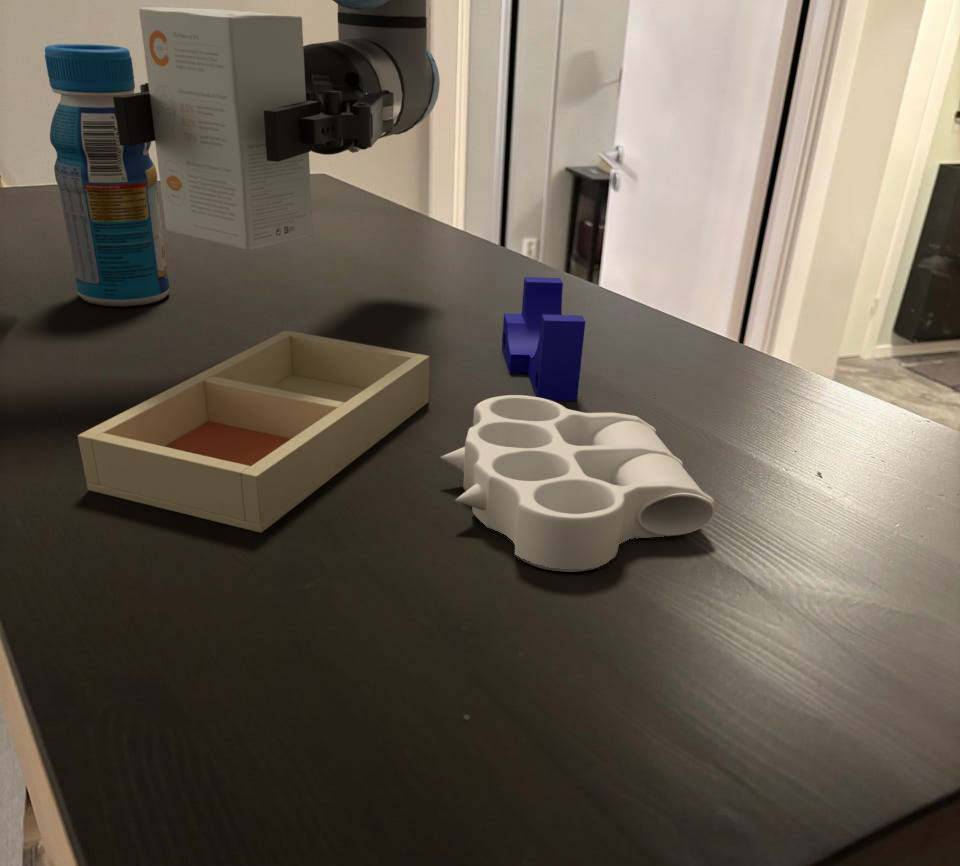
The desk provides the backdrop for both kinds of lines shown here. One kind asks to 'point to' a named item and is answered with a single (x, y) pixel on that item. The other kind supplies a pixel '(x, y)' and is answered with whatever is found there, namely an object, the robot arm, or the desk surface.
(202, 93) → the small box
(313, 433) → the divided tray
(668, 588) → the desk surface
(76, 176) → the beverage bottle
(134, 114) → the robot arm
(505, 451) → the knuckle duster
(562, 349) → the cable clip
